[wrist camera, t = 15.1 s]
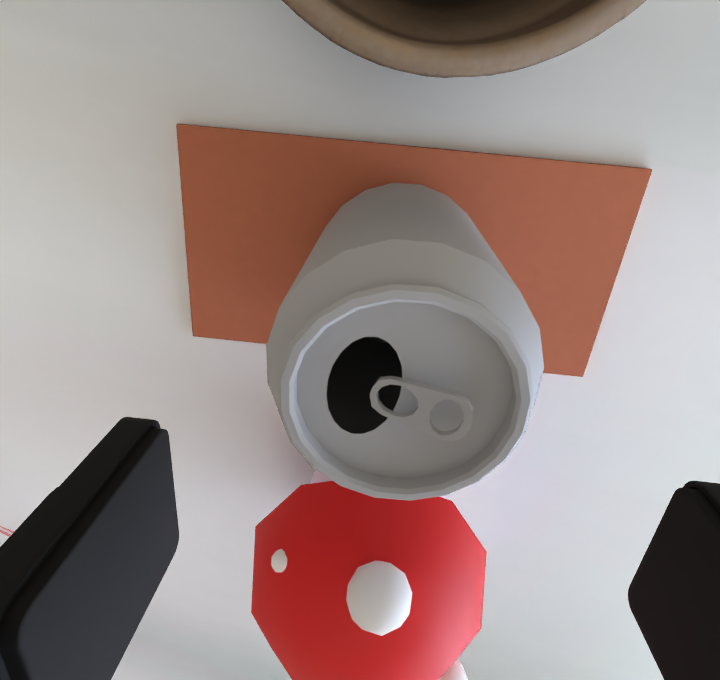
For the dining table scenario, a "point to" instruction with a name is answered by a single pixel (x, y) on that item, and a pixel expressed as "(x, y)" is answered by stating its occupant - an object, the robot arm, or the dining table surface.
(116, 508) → the robot arm
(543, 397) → the dining table surface
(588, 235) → the napkin
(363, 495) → the mushroom
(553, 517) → the dining table surface
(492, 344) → the can
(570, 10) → the flower pot
